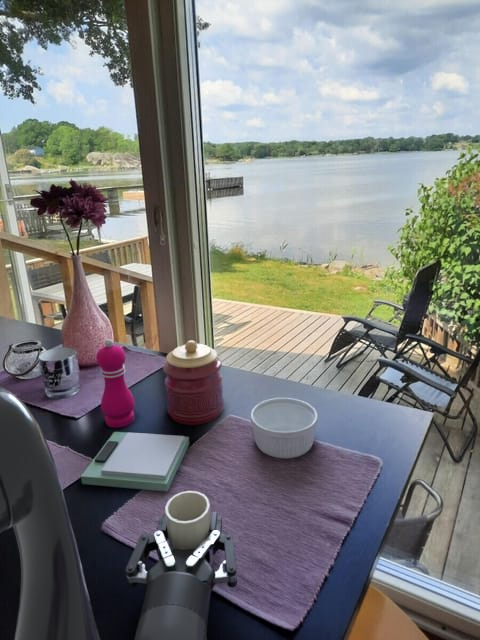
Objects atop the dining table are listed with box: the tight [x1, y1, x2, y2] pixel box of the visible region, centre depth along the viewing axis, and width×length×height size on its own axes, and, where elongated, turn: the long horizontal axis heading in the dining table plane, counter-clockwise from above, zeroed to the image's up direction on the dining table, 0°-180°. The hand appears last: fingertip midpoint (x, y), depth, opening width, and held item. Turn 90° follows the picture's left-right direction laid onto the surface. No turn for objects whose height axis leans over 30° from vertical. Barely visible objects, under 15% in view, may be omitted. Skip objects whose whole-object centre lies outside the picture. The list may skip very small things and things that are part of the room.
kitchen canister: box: [162, 340, 225, 426], centre depth 99 cm, size 13×13×18 cm
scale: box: [80, 431, 190, 492], centre depth 84 cm, size 16×14×3 cm
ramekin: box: [250, 397, 319, 459], centre depth 88 cm, size 13×13×7 cm
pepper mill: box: [96, 338, 136, 429], centre depth 96 cm, size 7×7×20 cm
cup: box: [164, 490, 212, 551], centre depth 61 cm, size 6×6×10 cm
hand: (191, 516), depth 63 cm, fingers closed on cup, 6 cm apart
